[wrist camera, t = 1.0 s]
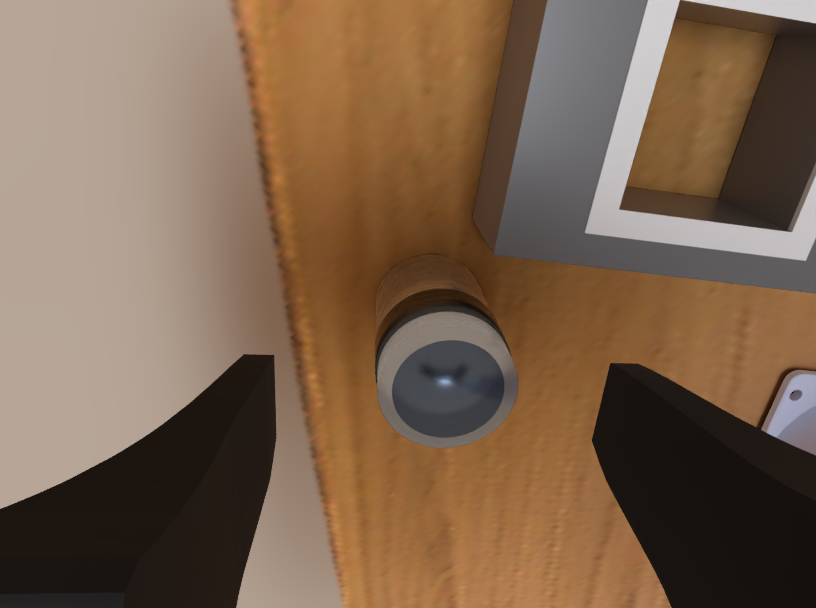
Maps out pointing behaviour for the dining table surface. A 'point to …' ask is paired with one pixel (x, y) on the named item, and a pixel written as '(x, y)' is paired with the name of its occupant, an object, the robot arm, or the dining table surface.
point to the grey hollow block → (618, 138)
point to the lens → (440, 354)
